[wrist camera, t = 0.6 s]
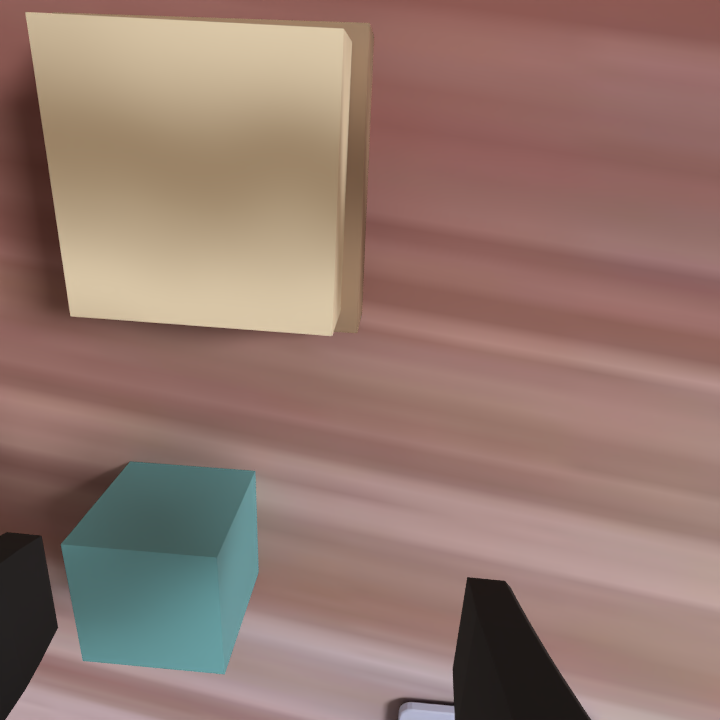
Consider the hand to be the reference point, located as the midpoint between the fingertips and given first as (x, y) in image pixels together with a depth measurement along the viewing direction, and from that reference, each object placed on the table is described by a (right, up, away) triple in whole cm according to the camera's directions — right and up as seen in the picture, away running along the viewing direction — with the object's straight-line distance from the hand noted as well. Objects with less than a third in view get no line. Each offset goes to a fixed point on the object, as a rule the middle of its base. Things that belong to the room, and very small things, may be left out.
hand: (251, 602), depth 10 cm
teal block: (-4, -2, +11) cm, 12 cm away
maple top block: (-2, +9, +5) cm, 10 cm away
